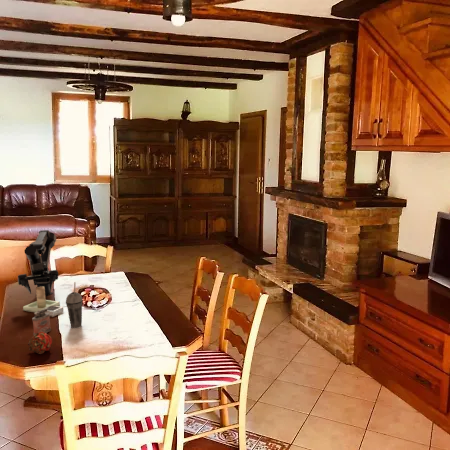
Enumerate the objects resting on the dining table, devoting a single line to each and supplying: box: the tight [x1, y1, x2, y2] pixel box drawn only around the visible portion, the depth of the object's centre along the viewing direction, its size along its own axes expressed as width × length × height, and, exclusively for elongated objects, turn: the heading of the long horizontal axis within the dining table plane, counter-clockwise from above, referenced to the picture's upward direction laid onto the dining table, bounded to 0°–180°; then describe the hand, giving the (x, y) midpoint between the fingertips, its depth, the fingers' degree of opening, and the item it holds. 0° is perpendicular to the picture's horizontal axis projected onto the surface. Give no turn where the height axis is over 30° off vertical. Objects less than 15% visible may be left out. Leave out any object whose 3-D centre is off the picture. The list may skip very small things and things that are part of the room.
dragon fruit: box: [27, 332, 53, 355], centre depth 190 cm, size 8×8×12 cm
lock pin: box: [35, 286, 47, 308], centre depth 240 cm, size 4×4×10 cm
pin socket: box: [45, 305, 65, 318], centre depth 233 cm, size 7×7×2 cm
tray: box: [22, 299, 61, 313], centre depth 241 cm, size 12×12×2 cm
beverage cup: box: [65, 281, 84, 329], centre depth 214 cm, size 7×7×20 cm
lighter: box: [31, 309, 52, 336], centre depth 209 cm, size 8×3×10 cm, turn 148°
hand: (40, 291), depth 238 cm, fingers open, 9 cm apart
